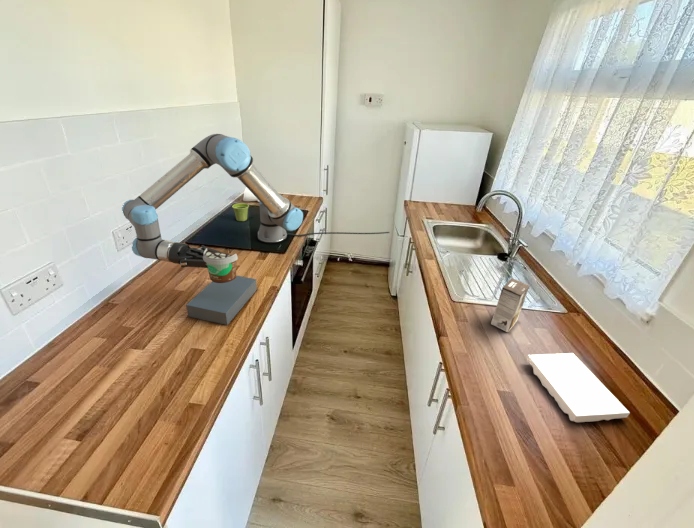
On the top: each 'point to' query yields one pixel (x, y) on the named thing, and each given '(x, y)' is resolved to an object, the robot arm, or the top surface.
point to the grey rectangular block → (222, 300)
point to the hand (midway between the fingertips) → (234, 263)
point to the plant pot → (241, 211)
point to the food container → (220, 266)
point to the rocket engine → (249, 196)
